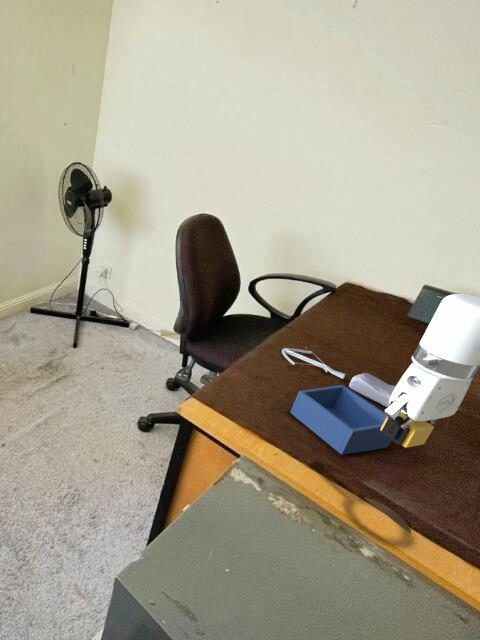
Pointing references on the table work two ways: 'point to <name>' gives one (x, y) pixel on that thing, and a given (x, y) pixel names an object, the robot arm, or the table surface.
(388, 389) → the stone block
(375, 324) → the table surface
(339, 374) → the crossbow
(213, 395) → the table surface
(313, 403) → the blue storage tray
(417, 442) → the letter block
